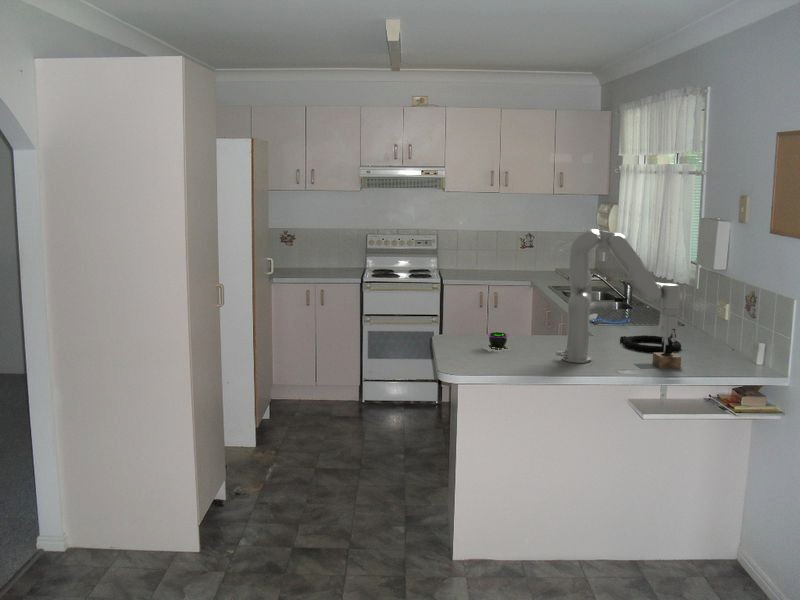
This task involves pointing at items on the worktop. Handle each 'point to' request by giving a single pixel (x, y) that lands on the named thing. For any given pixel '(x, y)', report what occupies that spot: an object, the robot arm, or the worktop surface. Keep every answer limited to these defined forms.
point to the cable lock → (631, 344)
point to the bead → (666, 360)
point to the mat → (648, 366)
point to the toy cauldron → (498, 340)
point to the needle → (664, 347)
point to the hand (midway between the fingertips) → (667, 352)
